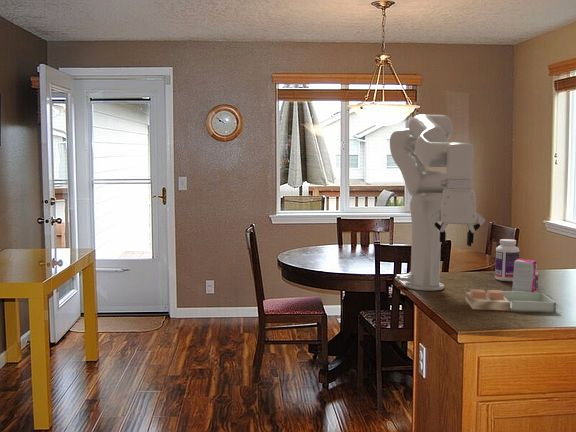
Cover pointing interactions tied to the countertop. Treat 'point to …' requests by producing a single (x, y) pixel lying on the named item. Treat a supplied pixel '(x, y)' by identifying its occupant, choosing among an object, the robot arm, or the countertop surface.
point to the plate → (487, 303)
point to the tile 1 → (477, 293)
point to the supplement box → (524, 275)
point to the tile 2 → (495, 294)
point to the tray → (530, 302)
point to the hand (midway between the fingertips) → (456, 244)
